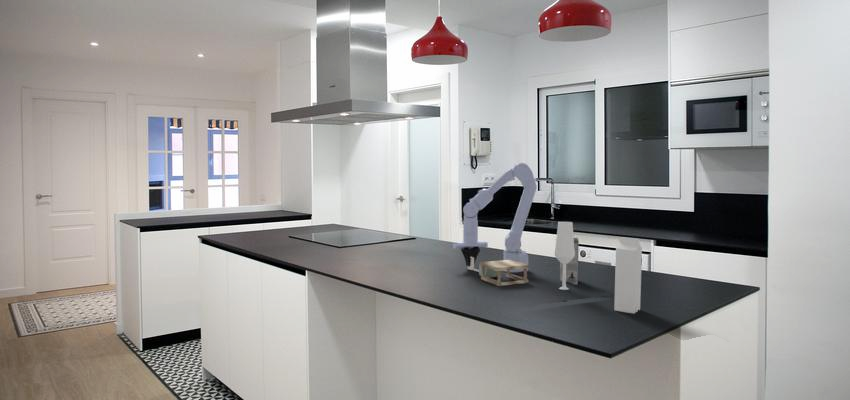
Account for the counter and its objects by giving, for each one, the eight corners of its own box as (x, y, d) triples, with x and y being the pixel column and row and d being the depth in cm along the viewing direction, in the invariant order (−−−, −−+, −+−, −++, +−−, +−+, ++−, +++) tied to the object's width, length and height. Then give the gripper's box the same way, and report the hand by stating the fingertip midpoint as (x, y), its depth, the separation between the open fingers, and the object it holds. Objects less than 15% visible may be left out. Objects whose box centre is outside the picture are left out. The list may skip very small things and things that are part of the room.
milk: (620, 306, 177) (622, 236, 175) (640, 309, 173) (642, 237, 172) (613, 310, 172) (615, 238, 170) (634, 313, 168) (636, 239, 167)
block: (475, 268, 232) (475, 256, 232) (499, 276, 216) (499, 263, 215) (462, 269, 229) (462, 257, 229) (486, 277, 213) (486, 264, 213)
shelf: (497, 275, 223) (498, 256, 223) (528, 285, 205) (528, 264, 205) (469, 278, 218) (469, 258, 217) (497, 289, 200) (497, 267, 199)
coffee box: (559, 279, 217) (560, 237, 216) (576, 279, 216) (577, 237, 215) (560, 284, 208) (561, 240, 207) (578, 285, 207) (579, 241, 206)
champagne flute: (552, 293, 194) (554, 223, 192) (555, 289, 200) (556, 221, 199) (573, 294, 192) (574, 223, 190) (574, 290, 198) (576, 221, 196)
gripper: (458, 234, 222) (458, 268, 223) (491, 232, 228) (490, 266, 229) (450, 232, 229) (450, 265, 230) (483, 230, 234) (482, 263, 235)
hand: (470, 265), depth 230 cm, fingers closed on block
